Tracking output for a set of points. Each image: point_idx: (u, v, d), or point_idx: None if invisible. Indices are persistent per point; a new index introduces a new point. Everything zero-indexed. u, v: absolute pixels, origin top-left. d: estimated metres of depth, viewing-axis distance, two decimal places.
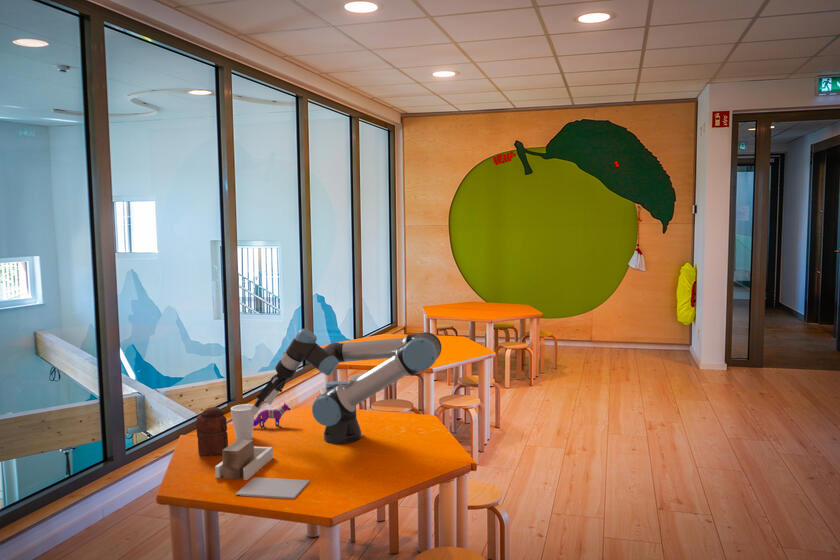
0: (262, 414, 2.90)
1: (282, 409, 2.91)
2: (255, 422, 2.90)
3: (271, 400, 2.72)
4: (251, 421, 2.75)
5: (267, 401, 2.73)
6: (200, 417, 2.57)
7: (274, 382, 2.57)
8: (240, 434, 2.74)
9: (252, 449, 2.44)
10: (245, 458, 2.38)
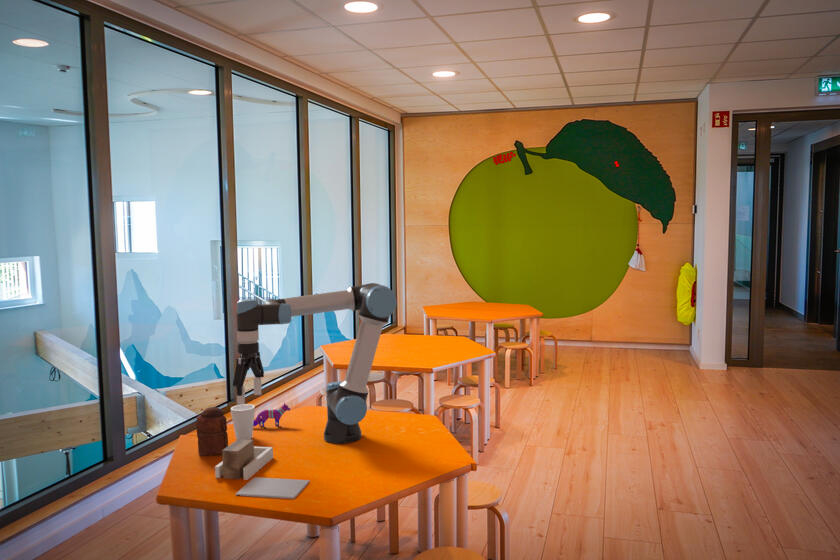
0: (262, 414, 2.90)
1: (282, 409, 2.91)
2: (255, 422, 2.90)
3: (259, 389, 2.55)
4: (251, 421, 2.75)
5: (256, 392, 2.55)
6: (200, 417, 2.57)
7: (241, 362, 2.41)
8: (240, 434, 2.74)
9: (252, 449, 2.44)
10: (245, 458, 2.38)
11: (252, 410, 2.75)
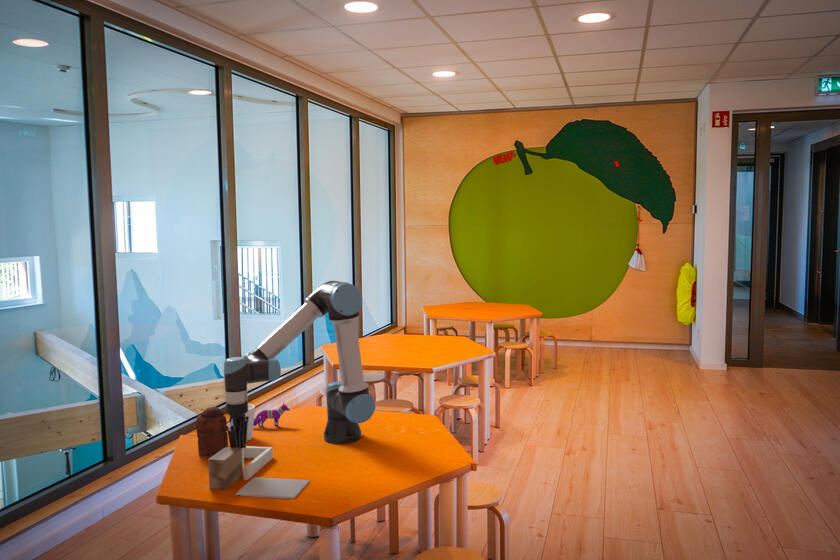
0: (261, 414, 2.90)
1: (281, 409, 2.91)
2: (254, 422, 2.90)
3: None
4: (251, 421, 2.75)
5: None
6: (200, 417, 2.57)
7: (231, 430, 2.34)
8: None
9: (240, 458, 2.35)
10: (232, 467, 2.30)
11: (252, 410, 2.75)
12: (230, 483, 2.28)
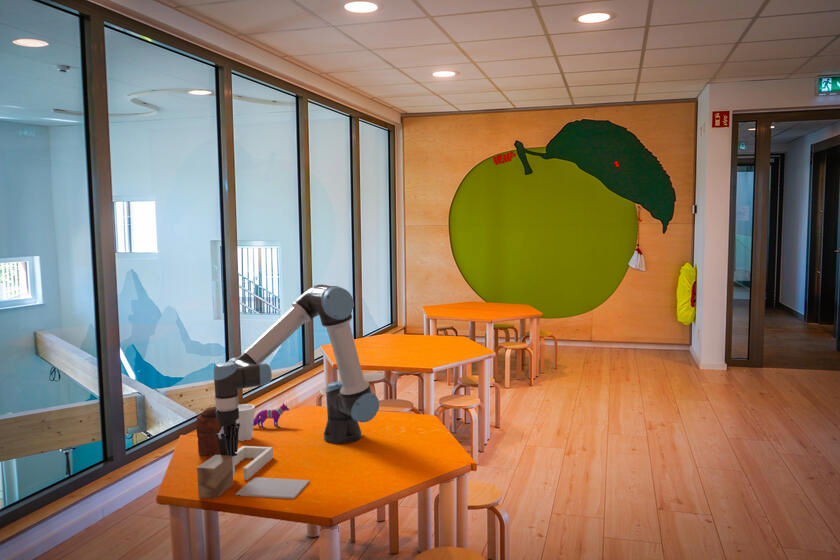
0: (261, 414, 2.90)
1: (281, 409, 2.91)
2: (254, 422, 2.90)
3: None
4: (251, 421, 2.75)
5: None
6: (200, 417, 2.57)
7: (222, 438, 2.27)
8: (240, 434, 2.74)
9: (230, 465, 2.28)
10: (222, 476, 2.22)
11: (252, 410, 2.75)
12: (220, 492, 2.21)
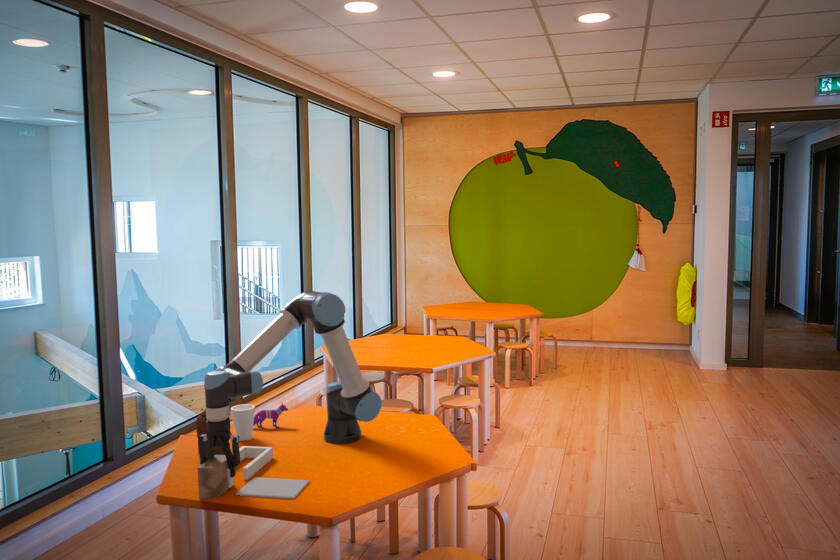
0: (259, 414, 2.89)
1: (279, 409, 2.91)
2: None
3: None
4: (251, 421, 2.75)
5: None
6: (200, 417, 2.57)
7: None
8: (240, 434, 2.74)
9: None
10: (222, 476, 2.22)
11: (252, 410, 2.75)
12: (220, 492, 2.21)
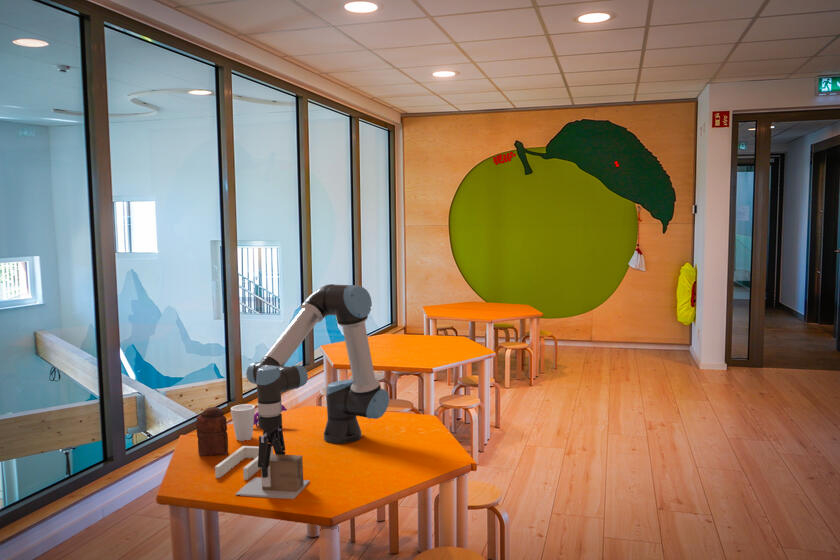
0: (258, 414, 2.89)
1: None
2: None
3: None
4: (251, 421, 2.75)
5: None
6: (200, 417, 2.57)
7: (264, 441, 2.17)
8: (240, 434, 2.74)
9: None
10: None
11: (252, 410, 2.75)
12: None
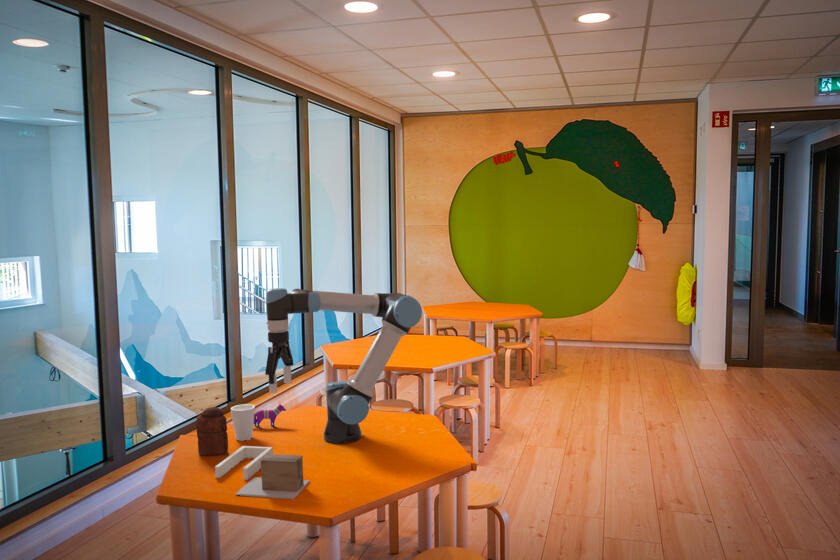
0: (257, 414, 2.89)
1: (277, 409, 2.90)
2: None
3: (289, 378, 2.57)
4: (251, 421, 2.75)
5: (286, 381, 2.58)
6: (200, 417, 2.57)
7: (273, 350, 2.43)
8: (240, 434, 2.74)
9: None
10: None
11: (252, 410, 2.75)
12: None
